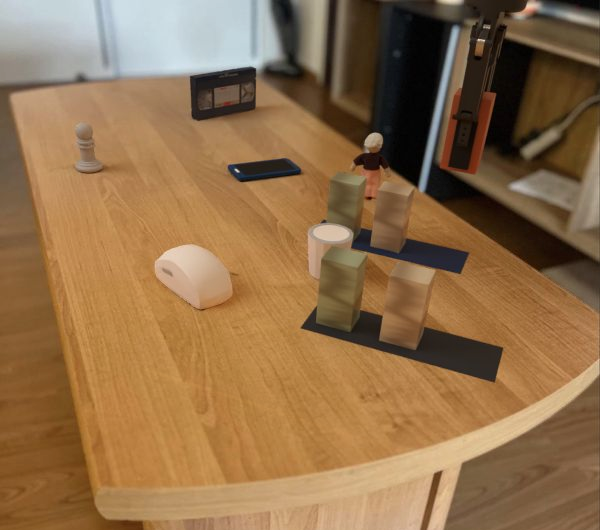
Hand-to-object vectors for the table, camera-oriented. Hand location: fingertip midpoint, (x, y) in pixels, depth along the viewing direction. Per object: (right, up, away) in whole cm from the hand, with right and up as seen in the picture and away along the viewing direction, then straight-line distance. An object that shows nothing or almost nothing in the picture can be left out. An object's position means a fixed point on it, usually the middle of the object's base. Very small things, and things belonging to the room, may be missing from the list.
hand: (461, 161), depth 89 cm
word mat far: (-8, -9, +16) cm, 21 cm away
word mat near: (-9, -25, -5) cm, 27 cm away
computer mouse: (-38, -18, +3) cm, 42 cm away
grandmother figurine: (-10, +2, +32) cm, 33 cm away
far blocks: (-12, -8, +17) cm, 22 cm away
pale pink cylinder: (-19, -15, +8) cm, 25 cm away
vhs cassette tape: (-42, +33, +70) cm, 88 cm away
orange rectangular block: (0, -1, 0) cm, 1 cm away
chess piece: (-65, +9, +37) cm, 75 cm away
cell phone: (-30, +10, +40) cm, 51 cm away
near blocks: (-13, -24, -4) cm, 28 cm away
